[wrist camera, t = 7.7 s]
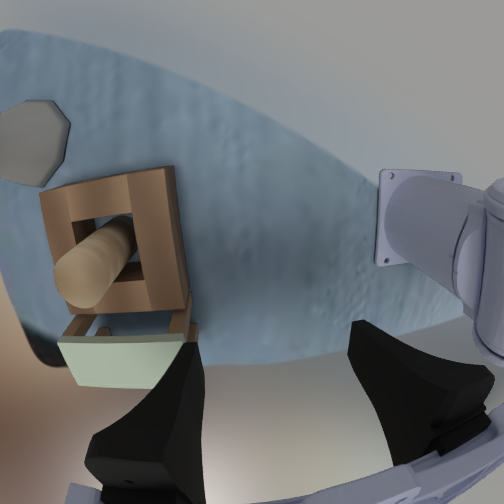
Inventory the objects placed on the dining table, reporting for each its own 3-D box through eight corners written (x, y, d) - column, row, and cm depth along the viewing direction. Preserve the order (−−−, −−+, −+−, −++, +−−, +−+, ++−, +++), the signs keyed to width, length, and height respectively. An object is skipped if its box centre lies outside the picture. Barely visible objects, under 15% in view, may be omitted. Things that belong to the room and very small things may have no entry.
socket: (173, 165, 19) (164, 168, 16) (189, 285, 22) (185, 308, 19) (63, 185, 18) (38, 193, 15) (87, 292, 21) (70, 314, 18)
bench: (190, 291, 22) (182, 341, 16) (198, 332, 24) (194, 387, 18) (88, 298, 21) (57, 342, 15) (102, 337, 23) (78, 385, 17)
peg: (146, 251, 21) (111, 305, 13) (111, 257, 21) (65, 310, 13) (136, 212, 20) (92, 249, 12) (100, 220, 19) (46, 259, 12)
